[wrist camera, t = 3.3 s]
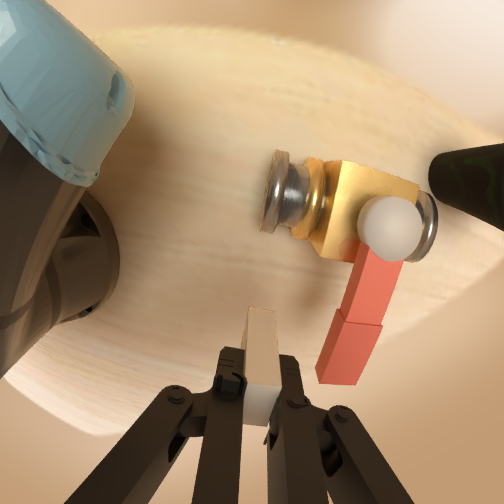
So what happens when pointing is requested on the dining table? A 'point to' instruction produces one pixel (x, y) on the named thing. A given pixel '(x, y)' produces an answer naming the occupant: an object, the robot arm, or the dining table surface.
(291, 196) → the valve body
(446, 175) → the cup
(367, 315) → the lever
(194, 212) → the dining table surface
